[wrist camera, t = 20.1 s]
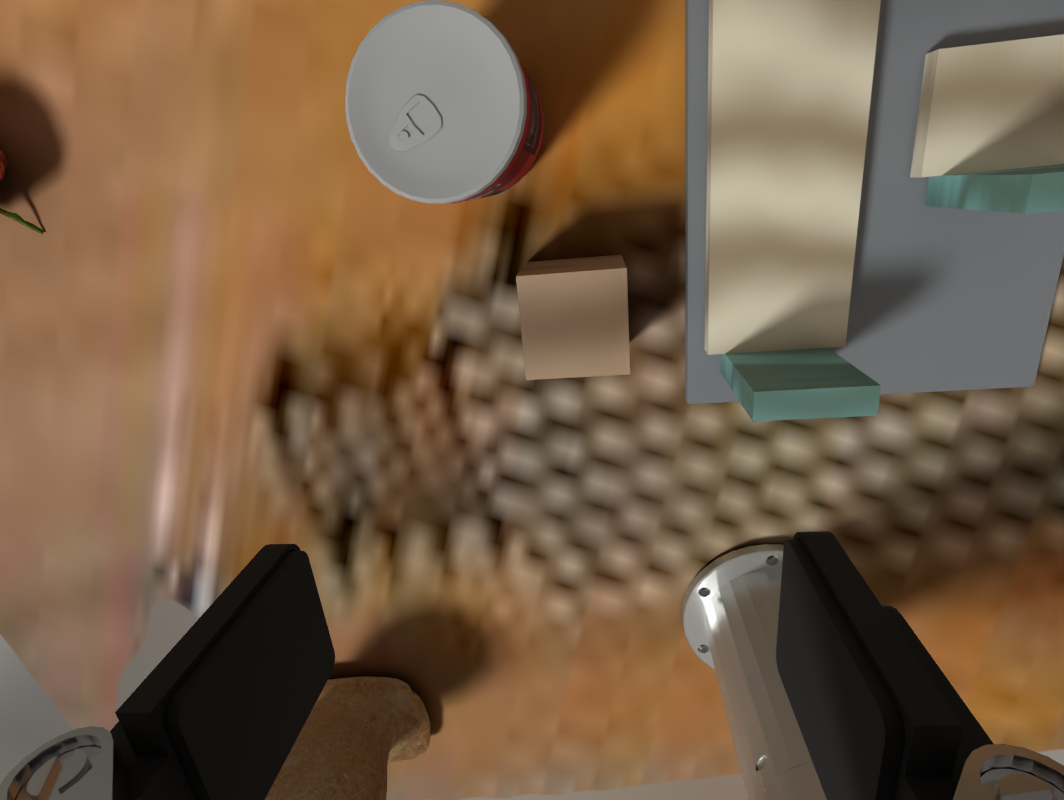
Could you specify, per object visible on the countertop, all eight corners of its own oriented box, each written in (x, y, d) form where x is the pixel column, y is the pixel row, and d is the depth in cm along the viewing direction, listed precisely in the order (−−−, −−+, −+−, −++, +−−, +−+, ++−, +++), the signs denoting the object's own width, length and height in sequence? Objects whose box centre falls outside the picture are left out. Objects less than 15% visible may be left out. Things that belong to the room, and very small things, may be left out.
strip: (835, 365, 36) (898, 414, 28) (704, 373, 37) (732, 422, 29) (882, -125, 27) (991, -239, 20) (710, -98, 28) (752, -197, 21)
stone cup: (415, 645, 49) (346, 828, 36) (443, 744, 54) (391, 943, 40) (255, 653, 52) (131, 828, 38) (293, 747, 56) (194, 937, 42)
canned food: (393, 148, 35) (312, 136, 25) (462, 22, 32) (402, -51, 22) (495, 224, 36) (458, 241, 26) (571, 107, 33) (562, 76, 23)
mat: (1022, 381, 36) (1033, 386, 35) (685, 398, 39) (687, 404, 38) (1209, -469, 23) (1234, -496, 23) (685, -359, 26) (689, -378, 25)
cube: (624, 346, 38) (629, 374, 33) (535, 351, 39) (526, 379, 33) (621, 254, 36) (626, 267, 31) (527, 261, 37) (515, 276, 31)
